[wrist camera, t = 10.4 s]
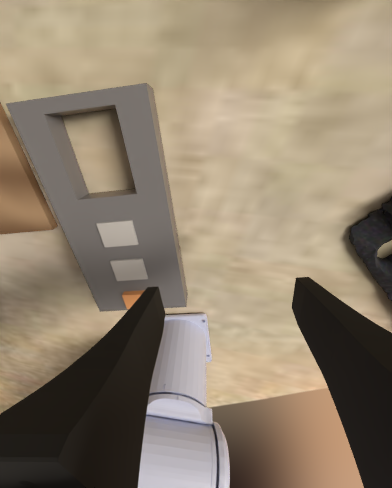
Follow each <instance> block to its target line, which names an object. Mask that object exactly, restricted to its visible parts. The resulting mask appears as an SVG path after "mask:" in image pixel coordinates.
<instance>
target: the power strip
mask: <svg viewBox="0 0 392 488" xmlns="http://www.w3.org/2000/svg"><path fill="white" fill-rule="evenodd" d="M6 105H7V107H8V109H9V112H10V114H11V116H12V118H13V120H14V123H15V125H16V127H17V129H18V132H19V134H20V136H21V138H22V140H23V143H24V145H25V147H26V149H27V151H28V154H29V156H30V158H31V160H32V162H33V165H34V167H35V169H36V171H37V173H38V176H39V178H40V180H41V182H42V184H43V187H44V189H45V191H46V193H47V195H48V198H49V200H50V202H51V204H52V207H53V209H54V211H55V213H56V215H57V218H58V220H59V222H60V224H61V226H62V229H63V231H64V233H65V235H66V237H67V240H68V242H69V244H70V246H71V248H72V251H73V253H74V255H75V257H76V259H77V262H78V264H79V266H80V268H81V271H82V273H83V275H84V277H85V279H86V282H87V284H88V286H89V288H90V290H91V293H92V295H93V297H94V299H95V301H96V304H97V306H98V308H99V310H100V311H117V310H129V309H130V308H131V307H132V305H133V304H134V303H135V302H136V300H137V299H138V298H139V297H140V296H141V294H142V293H143V292H144V291H145V290H146V288H147V287H158V286H159V290H160V294H161V298H162V302H163V306H164V308H173V307H186V305H187V295H188V294H187V288H186V282H185V276H184V270H183V264H182V258H181V252H180V246H179V240H178V234H177V228H176V223H175V217H174V211H173V205H172V199H171V193H170V187H169V181H168V175H167V169H166V163H165V157H164V151H163V145H162V139H161V133H160V127H159V121H158V115H157V110H156V104H155V98H154V92H153V88H152V87H151V86H149V85H148V84H147V83H144V84H137V85H130V86H123V87H116V88H109V89H103V90H96V91H89V92H82V93H75V94H68V95H62V96H55V97H48V98H41V99H34V100H27V101H20V102H14V103H7V104H6ZM115 108H116V110H117V114H118V119H119V123H120V127H121V131H122V135H123V139H124V143H125V147H126V151H127V155H128V159H129V163H130V167H131V171H132V176H133V180H134V184H135V188H136V189H129V190H119V191H109V192H100V193H90V194H89V193H88V190H87V187H86V184H85V182H84V179H83V176H82V173H81V170H80V167H79V165H78V162H77V159H76V156H75V153H74V151H73V148H72V145H71V142H70V139H69V137H68V134H67V131H66V128H65V125H64V123H63V120H62V117H61V116H64V115H71V114H78V113H86V112H93V111H100V110H108V109H115Z"/></svg>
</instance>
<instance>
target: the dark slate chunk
mask: <svg viewBox="0 0 392 488" xmlns="http://www.w3.org/2000/svg"><path fill="white" fill-rule="evenodd" d="M382 211H383V212H384V214H383V212H382ZM385 211H386V212H385ZM349 239H350V240H351V243H352V244H353V245H355V247H356V251H357V254H358V256H359V257H360V258H362V259H363V261H364V263H365V264H366V266H367V268H368V270H369V271H370V272H371V274H372V275H373V277H374V279H375V280H377V282H378V284H379V285H380V286H381V287H382V288H383V290H384V291H385V292H387V295H388V298H389V299H390V300H391V301H392V254H391V255H389V256H388V257H386V258H384V259H381V258H379V257H377V251H378V249H379V248H380V247H381V246H382V245H383V244H384V243H387V242H389V241H390V240H392V197H391V198H390V201H389V202H387V203H384V204H382V209H379V210H376V211H375V212H372V213H370V214H368V218H367V219H365V220H363V221H361V222H360V223H359V224H358V225H355V226H353V227H352V228H351V233H350V238H349Z"/></svg>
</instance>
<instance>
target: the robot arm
mask: <svg viewBox="0 0 392 488" xmlns="http://www.w3.org/2000/svg"><path fill="white" fill-rule="evenodd" d="M292 309H293V312H294V315H295V318H296V321H297V323H298V326H299V328H300V330H301V332H302V334H303V336H304V338H305V340H306V342H307V344H308V346H309V348H310V350H311V352H312V354H313V356H314V358H315V360H316V362H317V364H318V366H319V368H320V370H321V372H322V374H323V376H324V378H325V381H326V383H327V386H328V388H329V391H330V393H331V396H332V398H333V400H334V403H335V406H336V409H337V411H338V414H339V416H340V419H341V422H342V425H343V427H344V430H345V433H346V436H347V438H348V441H349V444H350V447H351V450H352V452H353V455H354V458H355V461H356V464H357V467H358V470H359V473H360V476H361V479H362V483H363V486H364V488H392V333H391V332H389V331H387V330H385V329H384V328H382V327H380V326H379V325H377V324H375V323H374V322H372V321H371V320H369V319H367V318H366V317H364V316H363V315H361V314H360V313H358V312H357V311H355V310H354V309H352V308H351V307H349V306H348V305H346V304H345V303H344V302H342V301H341V300H339V299H338V298H337V297H335V296H334V295H332V294H331V293H330V292H328V291H327V290H326V289H324V288H323V287H322V286H320V285H319V284H317V283H316V282H315V281H313V280H312V279H311V278H309V277H302V278H296V282H295V289H294V295H293V302H292ZM211 361H212V356H211V347H210V339H209V330H208V322H207V315H206V314H204V313H199V314H179V315H165V310H164V306H163V302H162V298H161V294H160V290H159V286H158V287H147V288H146V290H145V291H144V292H143V293H142V294H141V296H140V297H139V298H138V299H137V300H136V302H135V303H134V304H133V305H132V307H131V308H130V309H129V310H128V311H127V312H126V314H125V315H124V316H123V317H122V318H121V319H120V320H119V321H118V322H117V324H116V325H115V326H114V327H113V328H112V329H111V330H110V331H109V332H108V333H107V334H106V335H105V336H104V337H103V338H102V339H101V340H100V341H99V342H98V343H97V344H95V345H94V346H93V347H92V348H91V349H90V350H89V351H88V352H86V353H85V354H84V355H83V356H82V357H80V358H79V359H78V360H77V361H76V362H74V363H73V364H72V365H71V366H69V367H68V368H67V369H66V370H64V371H63V372H62V373H60V374H59V375H58V376H56V377H55V378H54V379H52V380H51V381H49V382H48V383H47V384H45V385H44V386H42V387H41V388H39V389H38V390H37V391H35V392H34V393H32V394H31V395H29V396H27V397H26V398H24V399H23V400H21V401H20V402H18V403H17V404H15V405H14V406H12V407H11V408H9V409H7V410H6V411H4V412H3V413H1V415H0V488H229V484H230V483H229V482H230V467H229V454H228V447H227V442H226V438H225V436H224V433H223V432H222V430H221V427H220V426H219V424H218V423H217V422H212V409H211V408H207V406H206V362H211Z"/></svg>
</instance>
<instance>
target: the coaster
mask: <svg viewBox="0 0 392 488" xmlns="http://www.w3.org/2000/svg"><path fill="white" fill-rule="evenodd" d="M56 227H57V224H56V222H55V220H54V217H53V215H52V213H51V211H50V209H49V207H48V204H47V202H46V200H45V198H44V196H43V194H42V191H41V189H40V187H39V185H38V183H37V181H36V179H35V176H34V174H33V172H32V170H31V168H30V166H29V163H28V161H27V159H26V157H25V155H24V153H23V150H22V148H21V146H20V144H19V142H18V140H17V137H16V135H15V133H14V131H13V129H12V127H11V124H10V122H9V120H8V118H7V116H6V114H5V112H4V109H3V107H2V105H1V103H0V234H8V233H19V232H30V231H41V230H53V229H54V228H56Z"/></svg>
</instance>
